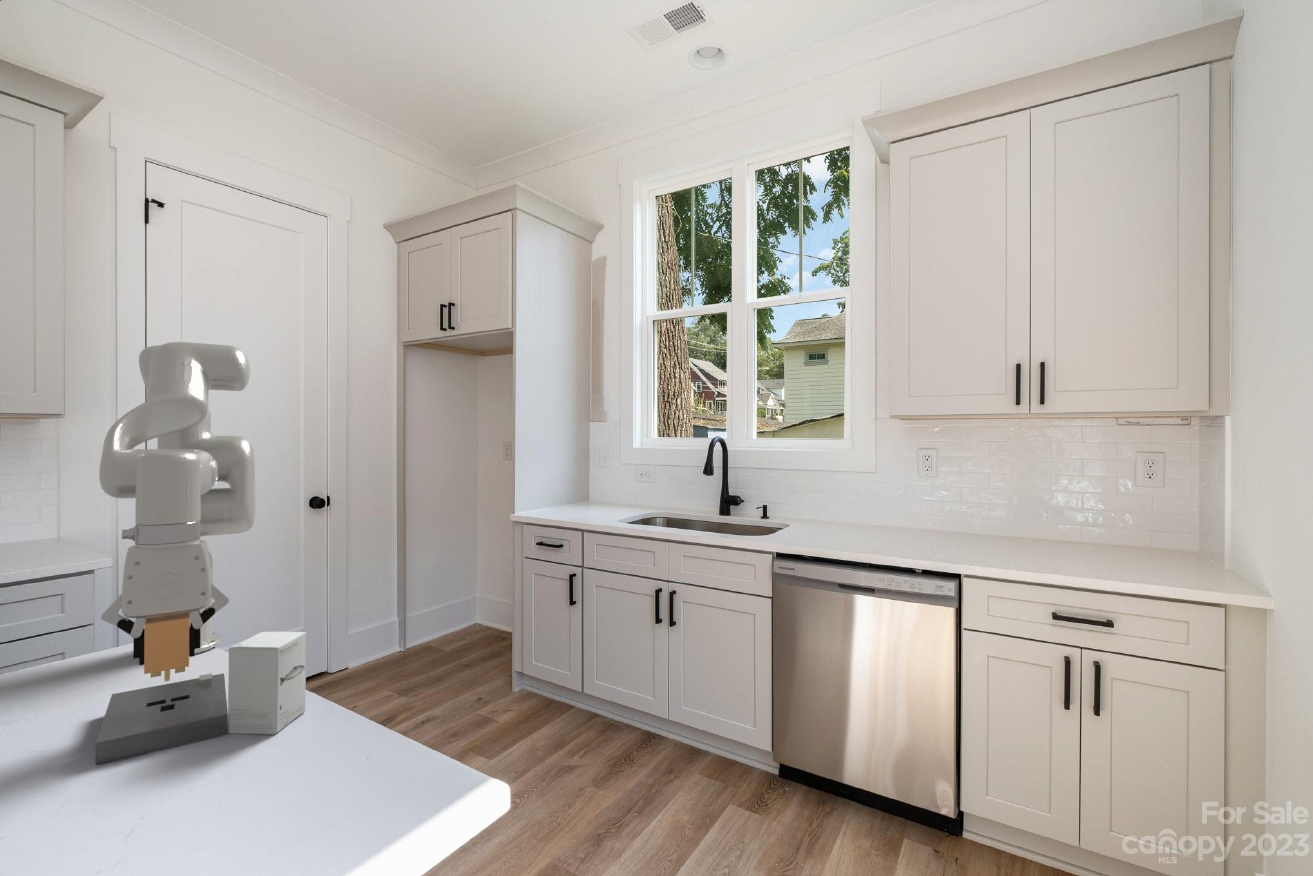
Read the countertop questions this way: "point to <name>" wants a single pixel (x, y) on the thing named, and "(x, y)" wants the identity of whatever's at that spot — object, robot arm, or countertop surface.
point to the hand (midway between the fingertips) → (167, 656)
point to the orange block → (166, 644)
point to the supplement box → (266, 682)
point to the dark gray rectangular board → (162, 718)
